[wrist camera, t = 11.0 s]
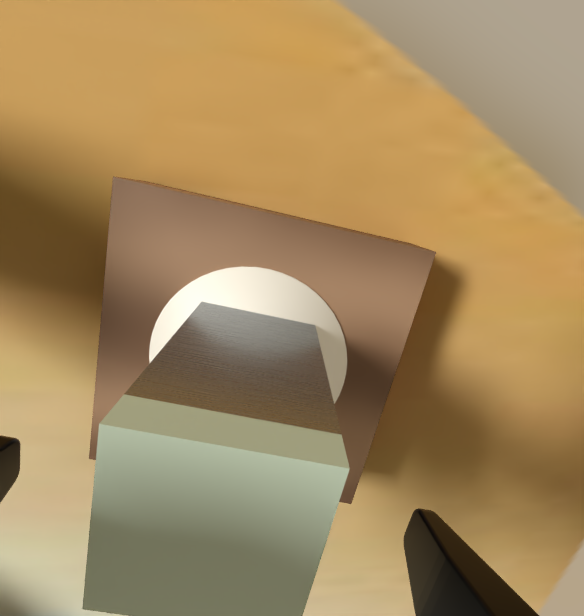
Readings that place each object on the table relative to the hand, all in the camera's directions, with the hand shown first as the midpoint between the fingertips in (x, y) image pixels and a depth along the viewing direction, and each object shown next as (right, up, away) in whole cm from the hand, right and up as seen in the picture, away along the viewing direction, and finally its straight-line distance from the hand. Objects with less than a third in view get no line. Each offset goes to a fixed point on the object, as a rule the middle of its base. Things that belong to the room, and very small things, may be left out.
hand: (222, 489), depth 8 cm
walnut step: (0, +3, +9) cm, 10 cm away
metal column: (0, +2, +7) cm, 7 cm away
